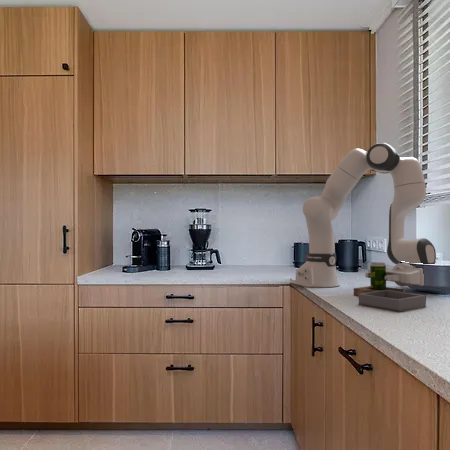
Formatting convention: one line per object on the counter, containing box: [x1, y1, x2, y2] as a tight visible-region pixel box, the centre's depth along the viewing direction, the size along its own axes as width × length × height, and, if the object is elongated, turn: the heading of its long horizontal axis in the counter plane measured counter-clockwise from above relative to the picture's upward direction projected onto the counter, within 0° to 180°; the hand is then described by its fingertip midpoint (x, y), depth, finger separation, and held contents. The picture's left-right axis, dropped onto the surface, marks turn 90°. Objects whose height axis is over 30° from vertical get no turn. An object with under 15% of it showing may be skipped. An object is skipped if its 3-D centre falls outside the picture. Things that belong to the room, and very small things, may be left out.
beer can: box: [369, 262, 387, 291], centre depth 137 cm, size 5×5×12 cm
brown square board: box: [353, 285, 405, 297], centre depth 137 cm, size 12×12×2 cm
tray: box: [358, 290, 427, 313], centre depth 118 cm, size 14×14×4 cm
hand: (376, 276), depth 136 cm, fingers open, 8 cm apart
